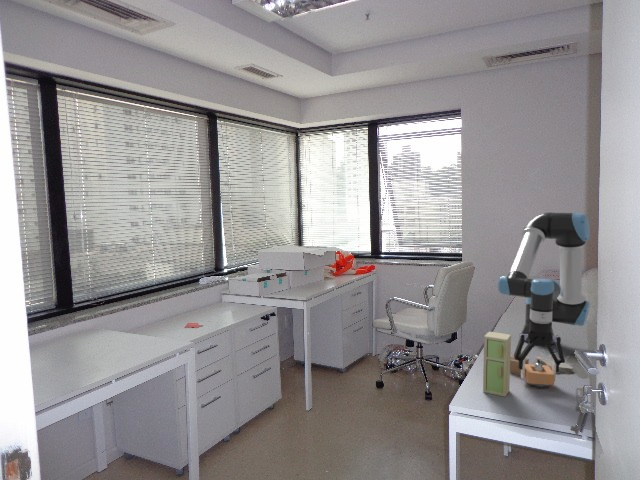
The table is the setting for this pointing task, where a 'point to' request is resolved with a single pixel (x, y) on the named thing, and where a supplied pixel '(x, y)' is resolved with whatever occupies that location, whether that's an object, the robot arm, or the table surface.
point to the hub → (538, 368)
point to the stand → (516, 364)
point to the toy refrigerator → (496, 363)
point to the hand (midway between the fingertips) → (537, 378)
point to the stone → (546, 361)
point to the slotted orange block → (539, 375)
